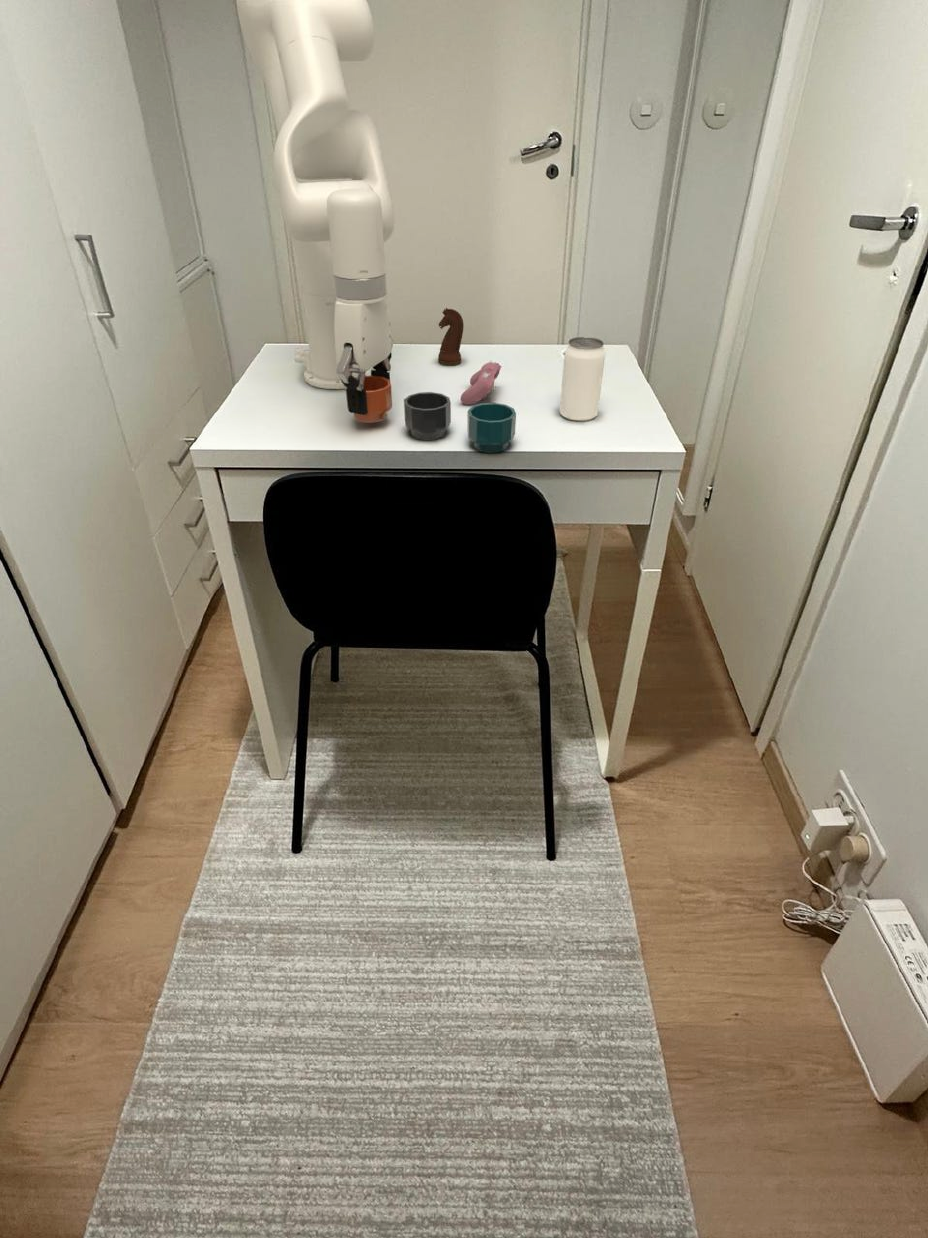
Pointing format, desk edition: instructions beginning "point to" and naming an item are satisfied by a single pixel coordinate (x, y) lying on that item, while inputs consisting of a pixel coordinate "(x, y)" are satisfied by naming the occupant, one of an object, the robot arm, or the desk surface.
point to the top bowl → (491, 426)
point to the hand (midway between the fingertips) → (370, 403)
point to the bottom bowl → (427, 415)
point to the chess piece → (451, 338)
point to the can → (582, 378)
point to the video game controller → (481, 383)
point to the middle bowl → (376, 399)
